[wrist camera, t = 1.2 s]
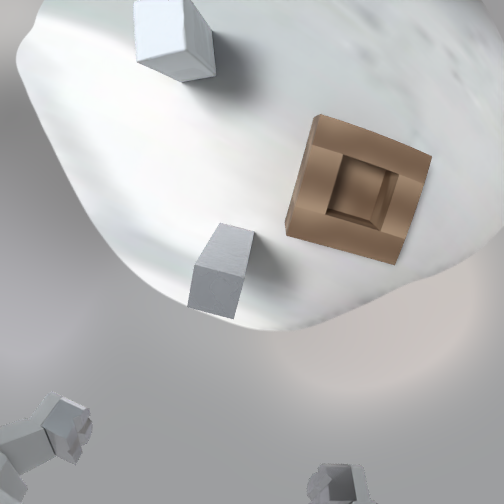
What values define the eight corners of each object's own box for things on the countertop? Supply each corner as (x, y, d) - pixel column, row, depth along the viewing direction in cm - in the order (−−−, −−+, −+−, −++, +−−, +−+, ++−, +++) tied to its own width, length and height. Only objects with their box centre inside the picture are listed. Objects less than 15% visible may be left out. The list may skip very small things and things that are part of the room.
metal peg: (220, 222, 35) (194, 264, 24) (254, 231, 36) (244, 277, 24) (213, 254, 37) (187, 306, 26) (246, 263, 37) (233, 319, 26)
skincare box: (175, 37, 28) (131, -1, 17) (212, 29, 28) (183, -15, 16) (179, 84, 30) (134, 63, 19) (217, 77, 30) (188, 49, 18)
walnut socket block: (313, 117, 31) (320, 114, 26) (412, 152, 31) (432, 156, 26) (284, 221, 35) (286, 235, 30) (380, 248, 35) (394, 265, 30)
